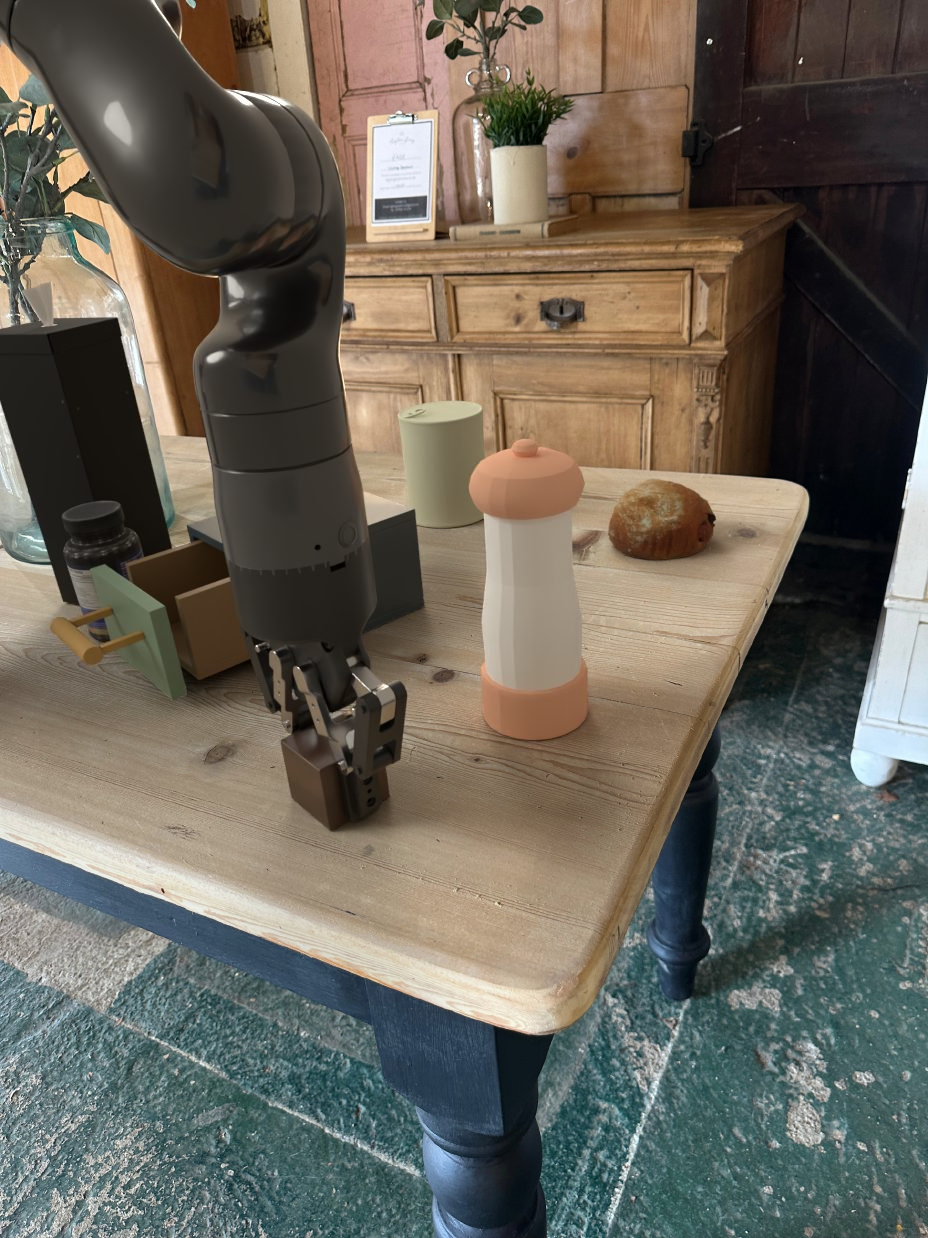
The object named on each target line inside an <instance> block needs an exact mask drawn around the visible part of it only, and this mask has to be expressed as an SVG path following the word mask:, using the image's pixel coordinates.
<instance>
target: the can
mask: <svg viewBox="0 0 928 1238" xmlns="http://www.w3.org/2000/svg"><path fill="white" fill-rule="evenodd" d="M397 419H398V424H399V432H400V441H401V450H402V459H403V469H404V477H405V487H406V499H407V506H408V507H411V508H414V509H415V513H416V524H417V526H419V527H424V528H425V527H426V528H432V529H449V528H459V527H464V526H468V525H472V524H475V523H477V522H479V521H481V520H484V513H483V512H481V511H480V510H479V509H478V508H477V507H476V506H475V504H474V502H473V500H472V498H471V495H470V492H469V483H470V478H471V475H472V473H473V472H474V470H475V468H476V467H477V465H478V464H479V463H480V461H482V460H483V459H485V458H486V452H485V433H484V407H483V406H482V405H481V404H479V403H476V402H473V401H465V400H439V401H432V402H431V401H429V402H424V403H418V404H414V405H411V406H408V407H406V408H403V409H402V410H400V411H399V412H398V413H397Z"/></svg>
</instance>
